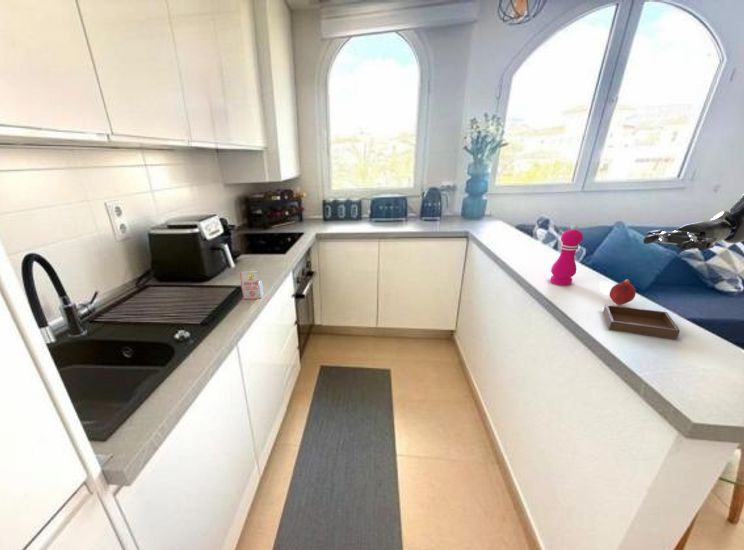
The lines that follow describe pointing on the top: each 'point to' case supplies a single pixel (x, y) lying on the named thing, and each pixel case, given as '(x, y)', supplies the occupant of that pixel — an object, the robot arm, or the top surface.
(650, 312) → the serving tray
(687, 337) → the top surface
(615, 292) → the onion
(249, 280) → the pink carton box
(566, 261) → the pepper mill
